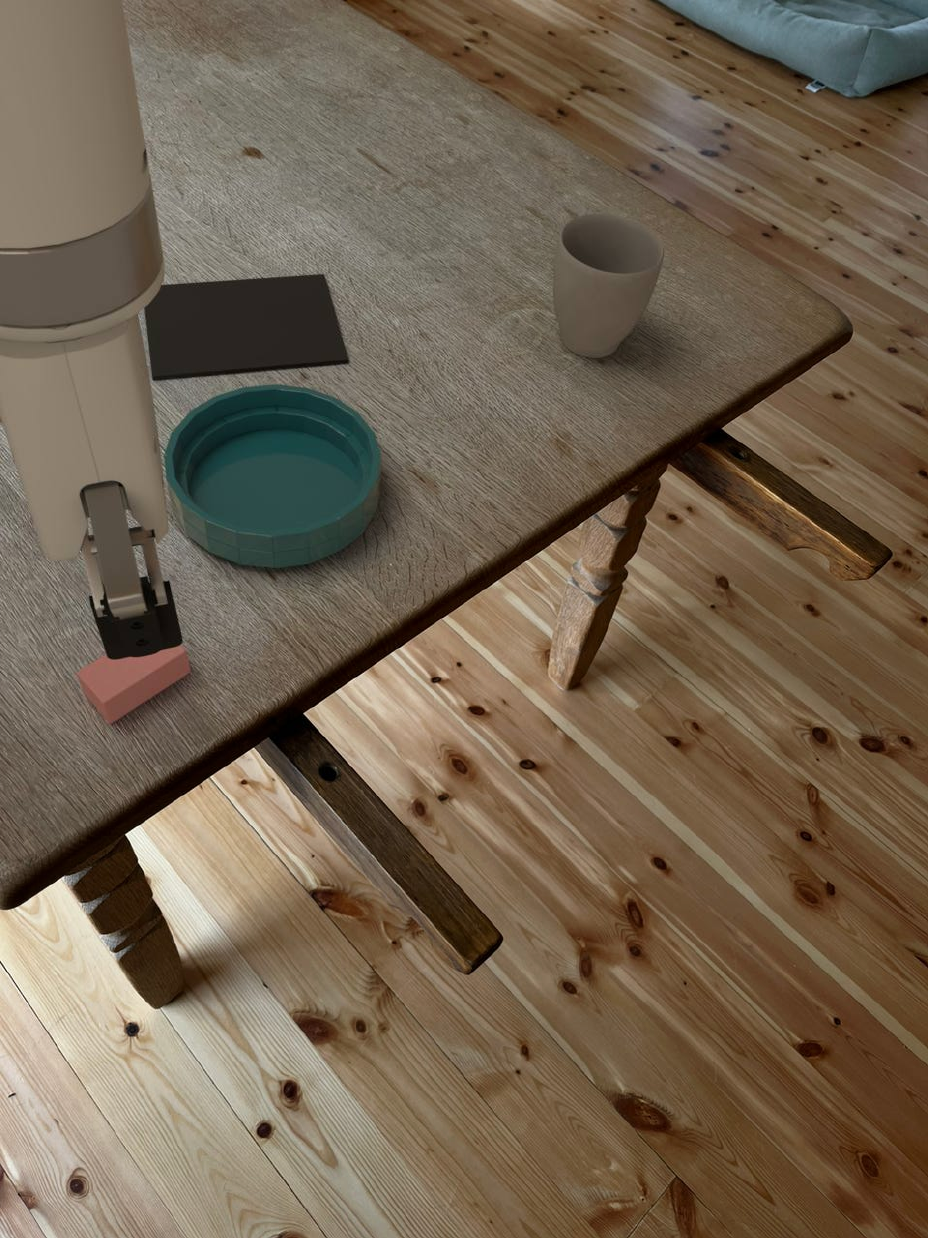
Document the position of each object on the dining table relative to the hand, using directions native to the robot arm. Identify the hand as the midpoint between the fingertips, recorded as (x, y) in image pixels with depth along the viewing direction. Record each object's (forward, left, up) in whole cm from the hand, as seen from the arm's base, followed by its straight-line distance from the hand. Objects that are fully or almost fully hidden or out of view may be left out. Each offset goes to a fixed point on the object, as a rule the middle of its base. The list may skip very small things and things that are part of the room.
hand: (129, 564), depth 47 cm
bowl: (+9, +21, -19) cm, 29 cm away
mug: (+39, +37, -19) cm, 57 cm away
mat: (+9, +41, -19) cm, 46 cm away
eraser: (-2, +6, -19) cm, 20 cm away
